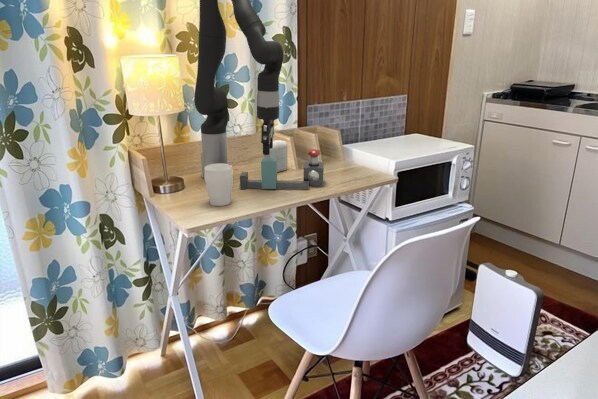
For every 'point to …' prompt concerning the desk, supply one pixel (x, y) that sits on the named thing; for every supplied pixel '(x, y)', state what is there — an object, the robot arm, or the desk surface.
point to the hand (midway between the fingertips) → (267, 151)
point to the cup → (219, 183)
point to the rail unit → (311, 178)
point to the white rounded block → (279, 154)
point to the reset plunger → (313, 157)
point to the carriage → (269, 173)
